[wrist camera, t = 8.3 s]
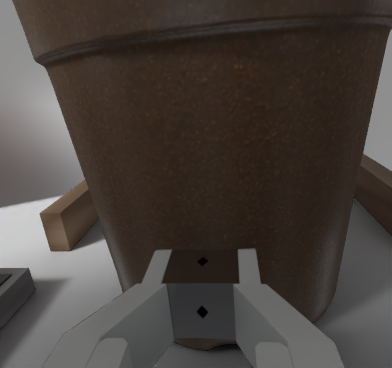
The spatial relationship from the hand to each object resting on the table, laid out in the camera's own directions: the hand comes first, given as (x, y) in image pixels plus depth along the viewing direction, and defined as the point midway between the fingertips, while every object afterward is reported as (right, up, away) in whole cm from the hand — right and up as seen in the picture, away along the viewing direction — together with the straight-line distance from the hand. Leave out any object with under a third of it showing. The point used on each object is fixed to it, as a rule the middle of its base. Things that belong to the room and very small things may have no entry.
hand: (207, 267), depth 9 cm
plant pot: (+1, -3, +9) cm, 9 cm away
